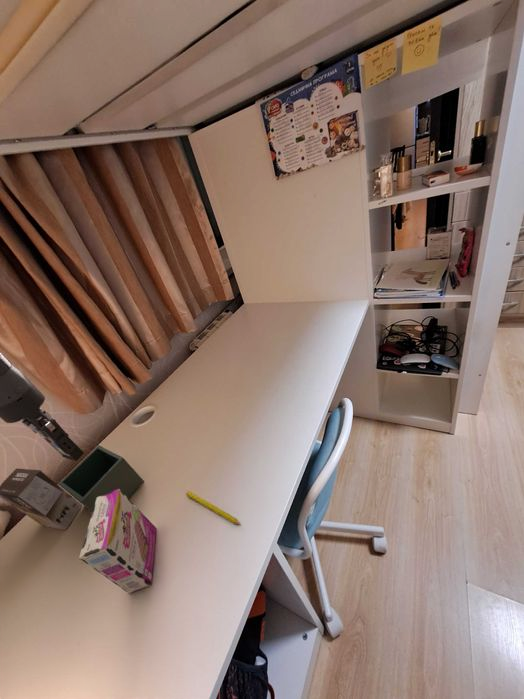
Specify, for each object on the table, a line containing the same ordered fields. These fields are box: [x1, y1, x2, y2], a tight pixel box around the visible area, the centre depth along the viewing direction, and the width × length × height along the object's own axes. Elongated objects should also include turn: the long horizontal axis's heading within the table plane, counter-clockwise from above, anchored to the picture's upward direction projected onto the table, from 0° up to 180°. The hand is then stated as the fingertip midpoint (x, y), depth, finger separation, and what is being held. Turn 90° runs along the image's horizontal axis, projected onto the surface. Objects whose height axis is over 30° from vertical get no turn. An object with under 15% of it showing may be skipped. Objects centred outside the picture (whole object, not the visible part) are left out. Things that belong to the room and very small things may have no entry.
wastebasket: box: [57, 444, 145, 513], centre depth 73 cm, size 12×12×10 cm
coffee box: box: [0, 467, 83, 531], centre depth 70 cm, size 9×6×16 cm
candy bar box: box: [78, 489, 157, 594], centre depth 56 cm, size 11×5×16 cm, turn 13°
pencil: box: [185, 490, 241, 525], centre depth 65 cm, size 16×1×1 cm, turn 58°
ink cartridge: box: [43, 433, 85, 462], centre depth 65 cm, size 5×2×8 cm, turn 67°
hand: (65, 446), depth 65 cm, fingers closed on ink cartridge, 5 cm apart
